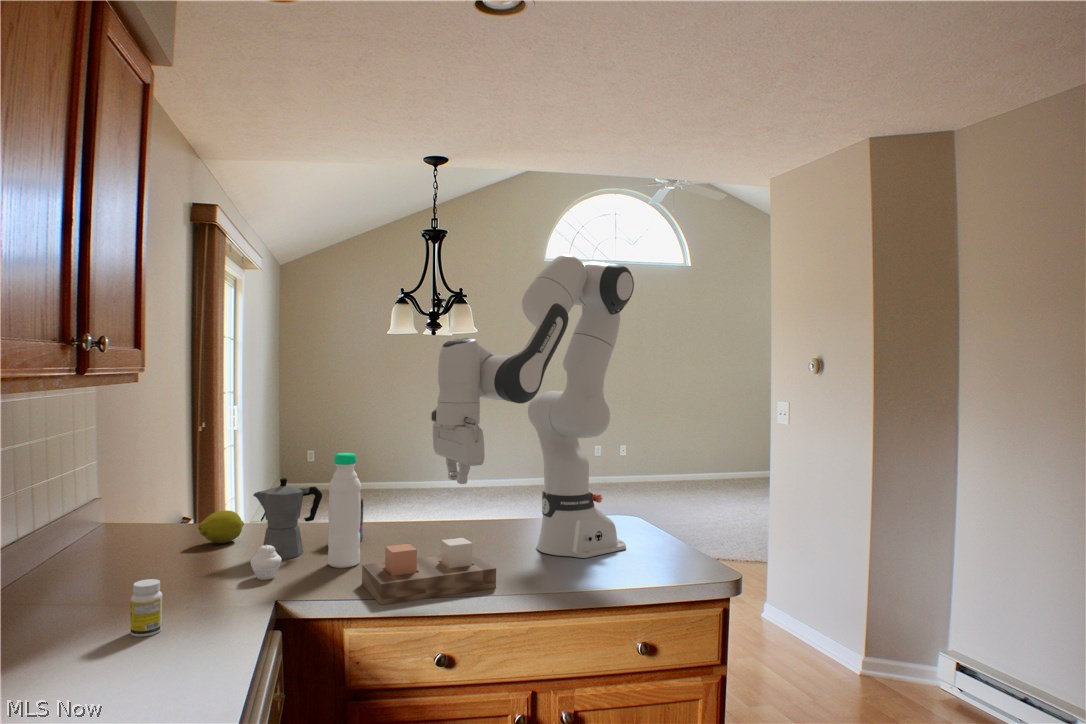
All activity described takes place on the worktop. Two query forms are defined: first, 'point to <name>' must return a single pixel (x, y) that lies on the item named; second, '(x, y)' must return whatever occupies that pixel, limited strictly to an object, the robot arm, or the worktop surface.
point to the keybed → (427, 580)
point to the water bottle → (344, 513)
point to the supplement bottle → (146, 608)
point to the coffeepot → (286, 516)
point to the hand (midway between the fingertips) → (457, 481)
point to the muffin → (266, 562)
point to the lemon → (221, 526)
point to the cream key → (456, 553)
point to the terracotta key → (400, 559)
